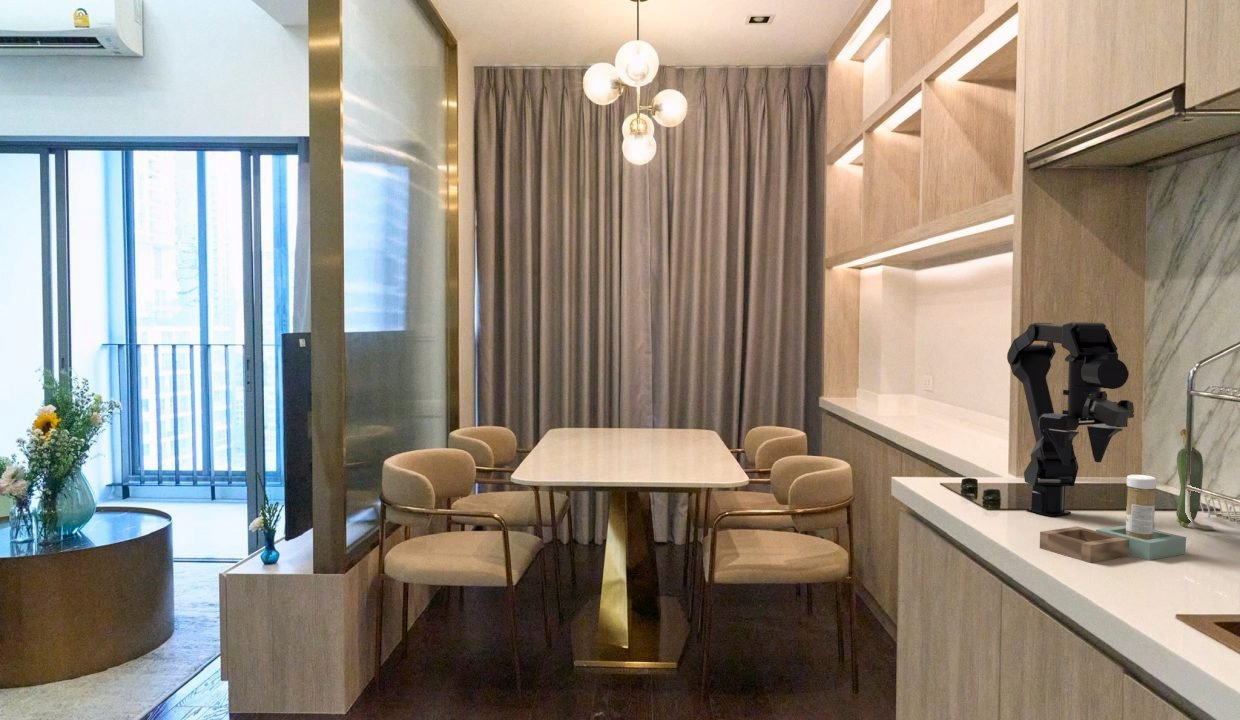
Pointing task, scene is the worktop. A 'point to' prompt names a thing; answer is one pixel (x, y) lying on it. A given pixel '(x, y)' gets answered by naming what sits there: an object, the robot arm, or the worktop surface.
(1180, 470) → the vegetable
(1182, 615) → the worktop surface
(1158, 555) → the green square socket
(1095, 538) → the walnut socket
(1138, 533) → the sprinkles bottle
